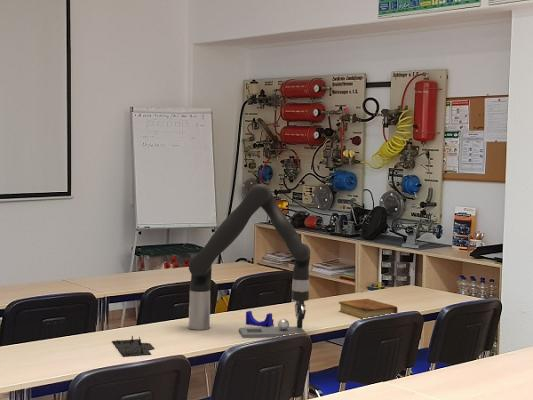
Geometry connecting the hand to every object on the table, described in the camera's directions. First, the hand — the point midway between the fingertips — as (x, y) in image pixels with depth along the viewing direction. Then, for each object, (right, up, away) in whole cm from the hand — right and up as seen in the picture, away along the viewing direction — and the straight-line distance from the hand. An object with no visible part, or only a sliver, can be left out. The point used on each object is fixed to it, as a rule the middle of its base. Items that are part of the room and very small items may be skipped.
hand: (299, 327), depth 369 cm
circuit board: (-68, -4, -30) cm, 75 cm away
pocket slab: (-12, -2, -2) cm, 13 cm away
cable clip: (-18, -1, +15) cm, 23 cm away
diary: (+35, -1, +42) cm, 55 cm away
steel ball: (-7, +2, -1) cm, 7 cm away
